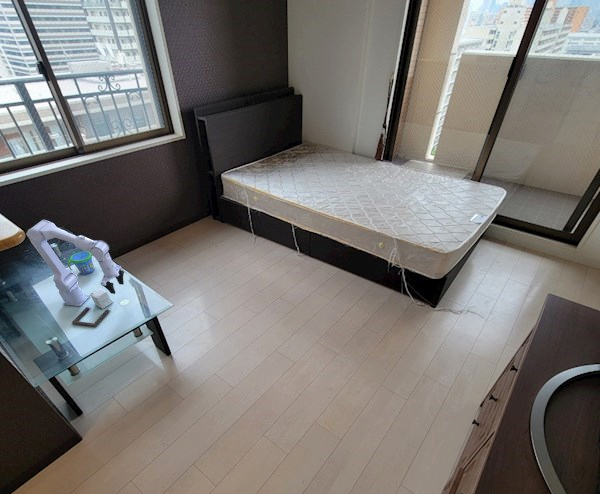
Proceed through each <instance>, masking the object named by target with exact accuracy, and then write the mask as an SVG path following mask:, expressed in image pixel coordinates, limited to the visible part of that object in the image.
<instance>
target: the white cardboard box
mask: <svg viewBox="0 0 600 494" xmlns="http://www.w3.org/2000/svg"><path fill="white" fill-rule="evenodd" d="M89 295H90V296H89V297H91V299H92V301H93V303H94V305H95V306H96V307H98V308H100V309H102V310H103V309H105V308H106V307H108V306H109V305H111V304H112V303H113V302H112V299H111V298H110V295H109V293H108V291H106V290H104V289H103V288H98V289H96V290H95V291H92V292H91V293H89Z"/></svg>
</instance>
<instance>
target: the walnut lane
mask: <svg viewBox="0 0 600 494" xmlns="http://www.w3.org/2000/svg"><path fill="white" fill-rule="evenodd" d="M89 310H90V308H89V307H88V306H87V307H84V309H83V310H82V311H81V312H80V313H79V314H78V315H77V316H76V317H75V318H74V319H73V320H72V321H71V324H72V325H77V326H85V327H93V328H96V327H97V326H98V325H99V324H100V323H101V321H103V319H104V318H105V317H106V316H107V315H108V314H109V313H110V310H109V309H105V310H104V311H103V313H102V314H100V316H99V317H98V318H97V319H96V321H94V323H93V322H85V321H80V320H81V319H82V318H83V316H85V315H86V313H87V312H88V311H89Z"/></svg>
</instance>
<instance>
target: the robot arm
mask: <svg viewBox="0 0 600 494" xmlns="http://www.w3.org/2000/svg"><path fill="white" fill-rule="evenodd" d="M25 235H26V237H27V238H28V239H29V241H30V243H31V245H32V246H33V247H34V248H35V250H36V251H37V253H38V254H39V255H40V256H41V257H42V259H43V260H44V262H45V263H46V264H47V266H48V267H49V269H50V270H51V271H52V273H53V282H54V284H55V287H56V289H57V290H58V293H59V295H60V297H61V299H62V300H63V302H64V303H63V305H69V306H74V307H75V306H76V307H81V306H82V305H83V304H84V303H85V302H86V301H87V300H88V299H89V298H90V296H89V295H84V293H83V291H82V289H81V287H80V286H79V282H78V281H79V277H78V275H77V274H76V273H75V272H73V269H72V270H70V268H66V267H65V265H64V264H63V262H62V261H61V259H60V258H59V257H58V255H57V254H56V253H55V251H54V250H53V248H52V247H51V245H50V244H49V242H48V241H49V240H52V239H59V240H61V241H65V242H68V243H71V244H73V245H74V246H75V247H76V248H77V249H80V250H82V251H84V252H89V253H91V254H92V257H93V258H95V261H97V263H98V265H99V267H100V269H101V271H102V273H103V276H102V279H101V281H100V282H99V284H100V285H101V286H102V287H103V288H105V289H106V290H108V291H107V292H109V293H110V294H112V295H114V294H116V289H115V286H114V282H111V280H113V279H114V278H115V280H116V281H117V283H118V284H119V285H123V286H124V284H125V282H124V281H125V280H124V274H125V271H124V270H123V268H122V266H121V265H116V266H115V265H114V262H113V259H112V257H111V255H110V253H109V250H110V245H109V244H108V243H107V242H106V241H104V240H102V239H101V240H93V239H91V238H88V237H86V236H85V235H81V234H80V235H74V234H73V233H70V232H68V231H66V230H64V229H62V228H60V227H58V226H56V224H55V223H54V222H51V221H49V220H47V219H42V220H40V221H39V222H37V223H36V224H35V225H34V226H31V228H29V229H28V230H27V231H26V233H25Z"/></svg>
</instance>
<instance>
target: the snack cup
mask: <svg viewBox="0 0 600 494" xmlns="http://www.w3.org/2000/svg"><path fill="white" fill-rule="evenodd" d="M92 257H93V256H92V254H91V253H90V252H88V251H78V252H75V253H74V254H72V255H71V256H70V258H69V260H68V261H67V266H68V269H70V270H72V271H73V269H72V268H71V265H70V264H71V263H72V264H73V265H74V266H75V267H76V269H77V270H78V271H79V273H80V274H83V275H88V274H91V273H93V272H94V270H95V265H94V262H93V259H92Z"/></svg>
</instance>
